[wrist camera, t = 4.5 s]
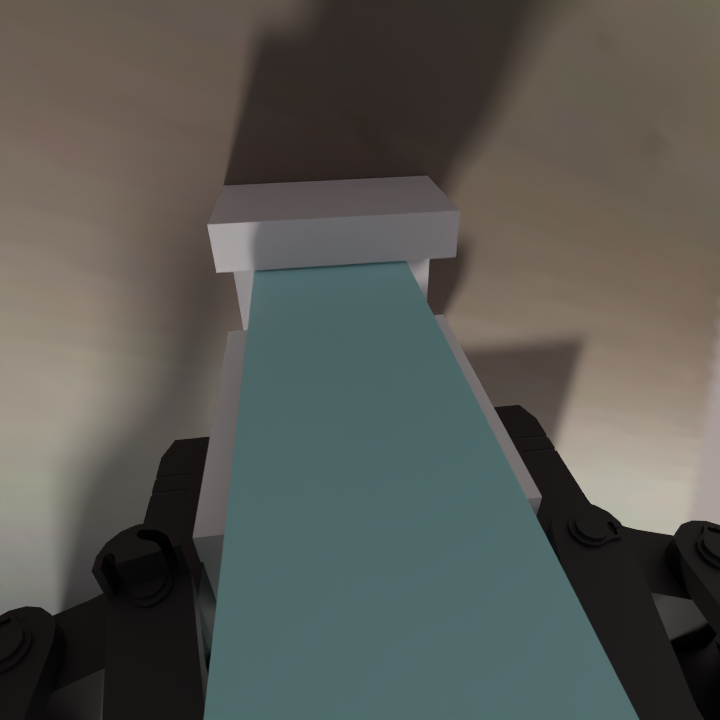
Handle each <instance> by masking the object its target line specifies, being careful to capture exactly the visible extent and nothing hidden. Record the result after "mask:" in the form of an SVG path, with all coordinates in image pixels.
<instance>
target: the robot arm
mask: <svg viewBox="0 0 720 720" xmlns="http://www.w3.org/2000/svg"><path fill="white" fill-rule="evenodd" d="M434 317H435V318H436V320H437V322H438V324H439V326H440V328H441V330H442V332H443V334H444V336H445V338H446V340H447V342H448V344H449V346H450V348H451V350H452V352H453V354H454V356H455V358H456V360H457V362H458V364H459V366H460V368H461V370H462V372H463V374H464V376H465V378H466V380H467V381H468V383H469V385H470V387H471V389H472V391H473V393H474V395H475V397H476V399H477V401H478V403H479V405H480V407H481V409H482V411H483V413H484V415H485V417H486V419H487V421H488V423H489V425H490V427H491V429H492V431H493V433H494V435H495V437H496V439H497V441H498V442H499V444H500V446H501V448H502V450H503V452H504V454H505V456H506V458H507V460H508V462H509V464H510V466H511V468H512V470H513V472H514V474H515V476H516V478H517V480H518V482H519V484H520V486H521V488H522V490H523V492H524V494H525V496H526V498H527V500H528V502H529V503H530V505H531V507H532V509H533V511H534V513H535V515H536V517H537V519H538V521H539V523H540V525H541V527H542V529H543V531H544V533H545V535H546V537H547V539H548V541H549V543H550V545H551V547H552V549H553V551H554V553H555V555H556V557H557V559H558V561H559V563H560V564H561V566H562V568H563V570H564V572H565V574H566V576H567V578H568V580H569V582H570V584H571V586H572V588H573V590H574V592H575V594H576V596H577V598H578V600H579V602H580V604H581V606H582V608H583V610H584V612H585V614H586V616H587V618H588V620H589V622H590V624H591V625H592V627H593V629H594V631H595V633H596V635H597V637H598V639H599V641H600V643H601V645H602V647H603V649H604V651H605V653H606V655H607V657H608V659H609V661H610V663H611V665H612V667H613V669H614V671H615V673H616V675H617V677H618V679H619V681H620V683H621V685H622V687H623V688H624V690H625V692H626V694H627V696H628V698H629V700H630V702H631V704H632V706H633V708H634V710H635V712H636V714H637V716H638V718H639V720H720V525H718V524H714V523H711V522H707V521H690V522H687V523H684V524H681V526H680V527H679V529H678V530H677V531H676V533H675V535H674V536H672V535H666V534H660V533H654V532H648V531H642V530H636V529H632V528H628V527H624V526H622V525H621V523H620V522H619V521H618V520H617V519H616V518H615V517H613V516H612V515H611V514H610V513H609V512H607V511H605V510H603V509H601V508H599V507H597V506H595V505H592V504H591V503H590V502H589V501H588V500H587V498H586V496H585V495H584V493H583V492H582V490H581V489H580V487H579V485H578V484H577V482H576V481H575V479H574V477H573V476H572V474H571V473H570V471H569V470H568V468H567V466H566V465H565V463H564V462H563V460H562V459H561V457H560V455H559V454H558V452H557V451H555V449H554V448H555V447H554V446H553V444H552V443H551V441H550V440H549V438H547V437H546V433H545V432H544V430H543V428H542V427H541V425H540V424H539V422H538V421H537V419H536V418H535V417H534V416H533V415H531V414H530V413H529V412H527V411H526V410H525V409H524V408H522V407H521V406H520V405H514V406H503V407H493V405H492V403H491V401H490V400H489V398H488V396H487V394H486V392H485V390H484V389H483V387H482V385H481V383H480V381H479V379H478V377H477V376H476V374H475V372H474V370H473V368H472V366H471V364H470V363H469V361H468V359H467V357H466V355H465V353H464V352H463V350H462V348H461V346H460V344H459V342H458V340H457V339H456V337H455V335H454V333H453V331H452V329H451V327H450V326H449V324H448V322H447V320H446V318H445V316H444V315H443V314H442V315H434ZM246 338H247V330H240V331H228V335H227V341H226V347H225V353H224V358H223V364H222V370H221V376H220V382H219V387H218V393H217V399H216V405H215V410H214V416H213V422H212V428H211V434H210V437H203V438H193V439H183V440H175V441H174V443H173V444H172V445H171V446H170V448H169V449H168V450H167V451H166V453H165V454H164V455H163V456H162V458H161V461H160V465H159V469H158V472H157V476H156V478H157V479H156V480H155V483H154V487H153V490H152V496H151V498H150V501H149V505H148V509H147V512H146V516H145V520H144V523H143V524H139V525H135V526H133V527H131V528H129V529H126V530H124V531H122V532H120V533H119V534H117V535H116V536H115V537H114V538H112V539H111V540H110V541H108V542H107V543H106V544H105V546H104V547H103V548H102V550H101V551H100V552H99V554H98V555H97V556H96V559H95V562H94V566H93V569H92V573H93V575H94V576H95V578H96V580H97V582H98V584H99V585H100V587H101V589H102V591H103V592H104V593H103V594H101V595H99V596H97V597H95V598H93V599H91V600H89V601H87V602H85V603H82V604H80V605H77V606H75V607H73V608H70V609H68V610H65V611H63V612H61V613H58V614H56V615H53V616H52V615H51V614H50V613H48V612H47V611H45V610H44V609H42V608H41V607H28V606H25V607H22V608H18V609H14V610H11V611H8V612H6V613H4V614H2V615H1V616H0V720H204V711H205V702H206V693H207V684H208V675H209V666H210V658H211V649H212V640H213V631H214V622H215V613H216V604H217V595H218V587H219V578H220V569H221V560H222V551H223V542H224V533H225V524H226V516H227V507H228V498H229V489H230V480H231V471H232V462H233V453H234V445H235V436H236V427H237V418H238V409H239V400H240V391H241V382H242V374H243V365H244V356H245V347H246Z"/></svg>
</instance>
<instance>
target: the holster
mask: <svg viewBox="0 0 720 720" xmlns="http://www.w3.org/2000/svg"><path fill="white" fill-rule="evenodd" d="M459 219H460V210H459V209H458V207H457V206H456V205H455V204H454V203H453V202H452V201H451V200H450V199H449V198H448V197H447V196H446V195H445V194H444V193H443V192H442V190H441V189H440V188H439V187H438V186H437V185H436V184H435V183H434V182H433V181H432V180H431V179H430V178H429V177H428V176H408V177H388V178H367V179H347V180H327V181H306V182H286V183H266V184H245V185H225V186H223V188H222V190H221V192H220V195H219V197H218V200H217V202H216V205H215V207H214V209H213V212H212V214H211V217H210V219H209V222H208V224H207V226H208V231H209V236H210V241H211V247H212V252H213V257H214V262H215V267H216V272H217V273H221V272H234V278H235V283H236V289H237V295H238V301H239V307H240V312H241V318H242V324H243V330H247V329H248V320H249V311H250V303H251V294H252V285H253V276H254V270H267V269H283V268H298V267H314V266H329V265H345V264H360V263H376V262H391V261H407V263H408V265H409V267H410V269H411V271H412V273H413V275H414V277H415V279H416V281H417V283H418V285H419V287H420V289H421V291H422V293H423V295H424V297H425V299H426V301H427V290H428V275H429V259H438V258H453V257H456V250H457V240H458V229H459Z"/></svg>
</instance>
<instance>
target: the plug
mask: <svg viewBox="0 0 720 720" xmlns="http://www.w3.org/2000/svg"><path fill="white" fill-rule="evenodd" d="M204 720H639V718H638V716H637V714H636V712H635V710H634V708H633V706H632V704H631V702H630V700H629V698H628V696H627V694H626V692H625V690H624V688H623V687H622V685H621V683H620V681H619V679H618V677H617V675H616V673H615V671H614V669H613V667H612V665H611V663H610V661H609V659H608V657H607V655H606V653H605V651H604V649H603V647H602V645H601V643H600V641H599V639H598V637H597V635H596V633H595V631H594V629H593V627H592V625H591V624H590V622H589V620H588V618H587V616H586V614H585V612H584V610H583V608H582V606H581V604H580V602H579V600H578V598H577V596H576V594H575V592H574V590H573V588H572V586H571V584H570V582H569V580H568V578H567V576H566V574H565V572H564V570H563V568H562V566H561V564H560V563H559V561H558V559H557V557H556V555H555V553H554V551H553V549H552V547H551V545H550V543H549V541H548V539H547V537H546V535H545V533H544V531H543V529H542V527H541V525H540V523H539V521H538V519H537V517H536V515H535V513H534V511H533V509H532V507H531V505H530V503H529V502H528V500H527V498H526V496H525V494H524V492H523V490H522V488H521V486H520V484H519V482H518V480H517V478H516V476H515V474H514V472H513V470H512V468H511V466H510V464H509V462H508V460H507V458H506V456H505V454H504V452H503V450H502V448H501V446H500V444H499V442H498V441H497V439H496V437H495V435H494V433H493V431H492V429H491V427H490V425H489V423H488V421H487V419H486V417H485V415H484V413H483V411H482V409H481V407H480V405H479V403H478V401H477V399H476V397H475V395H474V393H473V391H472V389H471V387H470V385H469V383H468V381H467V380H466V378H465V376H464V374H463V372H462V370H461V368H460V366H459V364H458V362H457V360H456V358H455V356H454V354H453V352H452V350H451V348H450V346H449V344H448V342H447V340H446V338H445V336H444V334H443V332H442V330H441V328H440V326H439V324H438V322H437V320H436V318H435V317H434V315H433V313H432V311H431V309H430V307H429V305H428V303H427V301H426V299H425V297H424V295H423V293H422V291H421V289H420V287H419V285H418V283H417V281H416V279H415V277H414V275H413V273H412V271H411V269H410V267H409V265H408V263H407V261H391V262H376V263H360V264H345V265H329V266H314V267H298V268H283V269H267V270H254V276H253V285H252V294H251V303H250V311H249V320H248V329H247V338H246V347H245V356H244V365H243V374H242V382H241V391H240V400H239V409H238V418H237V427H236V436H235V445H234V453H233V462H232V471H231V480H230V489H229V498H228V507H227V516H226V524H225V533H224V542H223V551H222V560H221V569H220V578H219V587H218V595H217V604H216V613H215V622H214V631H213V640H212V649H211V658H210V666H209V675H208V684H207V693H206V702H205V711H204Z"/></svg>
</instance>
